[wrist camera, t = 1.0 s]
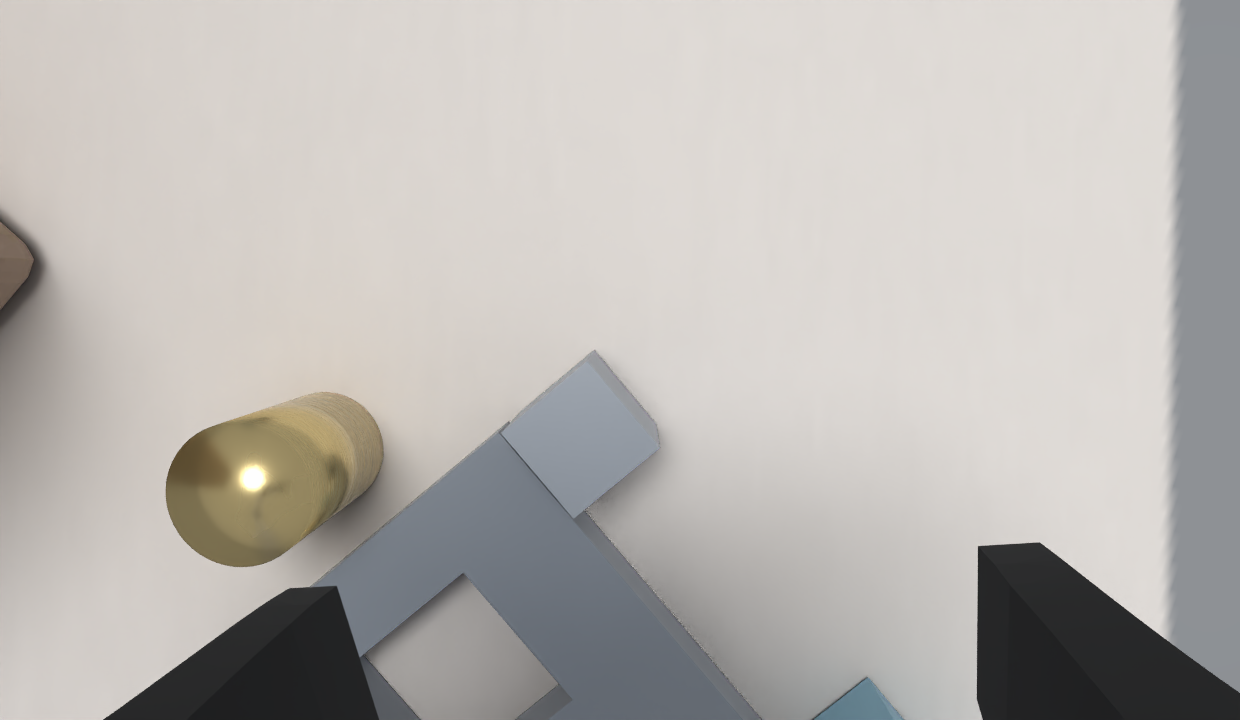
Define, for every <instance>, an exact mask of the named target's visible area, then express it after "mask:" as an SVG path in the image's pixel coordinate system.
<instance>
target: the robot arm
mask: <svg viewBox="0 0 1240 720" xmlns="http://www.w3.org/2000/svg"><path fill="white" fill-rule="evenodd" d="M977 701H978V704H979V708H980V711H981V715H982V718H983V720H1240V693H1239V692H1238V691H1236V690H1235V689H1233V688H1232V687H1230V686H1229V685H1228V684H1226V683H1225V682H1223V681H1222V680H1220V679H1219V678H1218V677H1216V676H1215V675H1213V674H1212V673H1211V672H1209V671H1208V670H1206V669H1205V668H1203V667H1202V666H1201V665H1200V664H1198V663H1197V662H1195V661H1194V660H1193V659H1191V658H1190V657H1189V656H1187V655H1186V654H1184V653H1183V652H1182V651H1180V650H1179V649H1178V648H1176V647H1175V646H1174V645H1172V644H1171V643H1170V642H1168V641H1167V640H1166V639H1164V638H1163V637H1162V636H1160V635H1159V634H1158V633H1156V632H1155V631H1154V630H1152V629H1151V628H1150V627H1148V626H1147V625H1146V624H1144V623H1143V622H1142V621H1140V620H1139V619H1138V618H1136V617H1135V616H1134V615H1133V614H1131V613H1130V612H1129V611H1127V610H1126V609H1125V608H1124V607H1122V606H1121V605H1120V604H1118V603H1117V602H1116V601H1114V600H1113V599H1112V598H1111V597H1109V596H1108V595H1107V594H1105V593H1104V592H1103V591H1102V590H1100V589H1099V588H1098V587H1096V586H1095V585H1094V584H1093V583H1091V582H1090V581H1089V580H1088V579H1086V578H1085V577H1084V576H1082V575H1081V574H1080V573H1079V572H1077V571H1076V570H1075V569H1074V568H1072V567H1071V566H1070V565H1068V564H1067V563H1066V562H1065V561H1063V560H1062V559H1061V558H1059V557H1058V556H1057V555H1056V554H1054V553H1053V552H1052V551H1050V550H1049V549H1048V548H1046V547H1045V546H1044V545H1042V544H1041V543H1023V544H1007V545H990V546H978V621H977ZM103 720H379V717H378V714H377V711H376V708H375V705H374V701H373V698H372V695H371V692H370V689H369V686H368V682H367V679H366V676H365V673H364V670H363V667H362V664H361V660H360V657H359V654H358V651H357V648H356V645H355V641H354V638H353V635H352V632H351V629H350V626H349V622H348V619H347V616H346V613H345V610H344V607H343V604H342V600H341V597H340V594H339V591H338V588H337V586H322V587H306V588H290V589H287V590H286V591H284V592H283V593H281V594H279V595H278V596H276V597H274V598H273V599H271V600H270V601H268V602H266V603H265V604H263V605H262V606H260V607H259V608H258V609H256V610H255V611H253V612H252V613H250V614H249V615H247V616H246V617H245V618H243V619H242V620H240V621H239V622H237V623H236V624H235V625H233V626H232V627H230V628H229V629H228V630H226V631H225V632H224V633H222V634H221V635H219V636H218V637H217V638H215V639H214V640H213V641H211V642H210V643H208V644H207V645H206V646H204V647H203V648H202V649H200V650H199V651H198V652H196V653H195V654H193V655H192V656H191V657H189V658H188V659H187V660H185V661H184V662H182V663H181V664H180V665H178V666H177V667H176V668H174V669H173V670H171V671H170V672H169V673H167V674H166V675H165V676H163V677H162V678H160V679H159V680H158V681H156V682H155V683H154V684H152V685H151V686H150V687H148V688H147V689H145V690H144V691H143V692H141V693H140V694H139V695H137V696H136V697H134V698H133V699H132V700H130V701H129V702H128V703H126V704H125V705H123V706H122V707H121V708H119V709H118V710H116V711H115V712H114V713H112V714H111V715H109V716H108V717H106V718H105V719H103Z"/></svg>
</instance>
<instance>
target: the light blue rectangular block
mask: <svg viewBox="0 0 1240 720" xmlns="http://www.w3.org/2000/svg"><path fill="white" fill-rule="evenodd" d="M814 720H904V719H903V718H902V717H901V716H900V715H899V713H898V712H897V711H896V710H895V709H894V707H893V706H892V705H891V704H890V703H889V701H888V700H887V699H886V698H885V697H884V695H883V694H882V693H881V692H880V691H879V689H878V688H877V687H876V686H875V685H874V684H873V682H872V681H871V680H870V679H869V678H867V679H865V680H864V681H863V682H861V683H860V684H859V685H857V686H856V687H855V688H854V689H852V690H851V691H850V692H848V693H847V694H846V695H845V696H843V697H842V698H841V699H839V700H838V701H837V702H836V703H834V704H833V705H832V706H830V707H829V708H828V709H827V710H825V711H824V712H823V713H821V714H820V715H819V716H818V717H816V718H815V719H814Z"/></svg>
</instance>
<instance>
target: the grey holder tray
mask: <svg viewBox="0 0 1240 720" xmlns="http://www.w3.org/2000/svg"><path fill="white" fill-rule="evenodd" d="M659 448H660V443H659V437H658V431H657V424H656V423H655V422H654V420H653V419H652V418H651V417H650V416H649V414H648V413H647V412H646V411H645V410H644V408H643V407H642V406H641V405H640V404H639V402H638V401H637V400H636V399H635V398H634V396H633V395H632V394H631V393H630V392H629V390H628V389H627V388H626V387H625V386H624V385H623V383H622V382H621V381H620V380H619V379H618V377H617V376H616V375H615V374H614V373H613V371H612V370H611V369H610V368H609V367H608V365H607V364H606V363H605V362H604V361H603V359H602V358H601V357H600V356H599V355H598V353H597V352H596V351H595V350H594V351H593V352H591V353H590V354H589V355H588V356H587V357H585V358H584V359H583V360H582V361H581V362H579V363H578V364H577V365H576V366H575V367H573V368H572V369H571V370H570V371H569V372H567V373H566V374H565V375H564V376H563V377H561V378H560V379H559V380H558V381H557V382H555V383H554V384H553V385H552V386H551V387H549V388H548V389H547V390H546V391H545V392H543V393H542V394H541V395H540V396H539V397H537V398H536V399H535V400H534V401H532V402H531V403H530V404H529V405H528V406H526V407H525V408H524V409H523V410H522V411H521V412H520V413H519V414H518V415H517V416H516V417H515V418H514V419H513V420H512V421H511V422H510V423H509V421H508V422H507V423H506V424H505V425H504V426H502V427H501V428H500V429H499V430H498V431H496V432H495V433H494V434H493V435H492V436H490V437H489V438H488V439H487V440H486V441H484V442H483V443H482V444H481V445H480V446H478V447H477V448H476V449H475V450H474V451H472V452H471V453H470V454H469V455H468V456H466V457H465V458H464V459H463V460H462V461H460V462H459V463H458V464H457V465H456V466H454V467H453V468H452V469H451V470H450V471H448V472H447V473H446V474H445V475H444V476H442V477H441V478H440V479H439V480H438V481H436V482H435V483H434V484H433V485H432V486H430V487H429V488H428V489H427V490H426V491H424V492H423V493H422V494H421V495H420V496H418V497H417V498H416V499H415V500H414V501H412V502H411V503H410V504H409V505H408V506H406V507H405V508H404V509H403V510H402V511H400V512H399V513H398V514H397V515H396V516H394V517H393V518H392V519H391V520H390V521H388V522H387V523H386V524H385V525H384V526H382V527H381V528H380V529H379V530H378V531H376V532H375V533H374V534H373V535H372V536H370V537H369V538H368V539H367V540H366V541H364V542H363V543H362V544H361V545H360V546H358V547H357V548H356V549H355V550H354V551H352V552H351V553H350V554H349V555H348V556H346V557H345V558H344V559H343V560H342V561H340V562H339V563H338V564H337V565H336V566H334V567H333V568H332V569H331V570H330V571H328V572H327V573H326V574H325V575H324V576H322V577H321V578H320V579H319V580H318V581H316V582H315V583H314V584H313V585H312V586H310V587H322V586H337V588H338V591H339V594H340V597H341V600H342V604H343V607H344V610H345V613H346V616H347V619H348V622H349V626H350V629H351V632H352V635H353V638H354V641H355V645H356V648H357V651H358V654H359V657H360V660H361V664H362V667H363V670H364V673H365V676H366V679H367V682H368V686H369V689H370V692H371V695H372V698H373V701H374V705H375V708H376V711H377V714H378V717H379V720H420V719H419V718H418V717H417V716H416V715H415V714H414V713H413V711H412V710H411V709H410V708H409V707H408V706H407V705H406V703H405V702H404V701H403V700H402V699H401V698H400V697H399V695H398V694H397V693H396V692H395V691H394V690H393V689H392V687H391V686H390V685H389V684H388V683H387V682H386V681H385V679H384V678H383V677H382V676H381V675H380V674H379V673H378V672H377V670H376V669H375V668H374V667H373V666H372V665H371V664H370V662H369V661H368V660H367V659H366V658H365V657H364V656H363V654H365V653H366V652H367V651H368V650H370V649H371V648H372V647H373V646H374V645H376V644H377V643H378V642H379V641H381V640H382V639H383V638H384V637H385V636H387V635H388V634H389V633H390V632H391V631H393V630H394V629H395V628H396V627H398V626H399V625H400V624H401V623H402V622H404V621H405V620H406V619H407V618H409V617H410V616H411V615H412V614H413V613H415V612H416V611H417V610H418V609H419V608H421V607H422V606H423V605H424V604H426V603H427V602H428V601H429V600H430V599H432V598H433V597H434V596H435V595H437V594H438V593H439V592H440V591H441V590H443V589H444V588H445V587H446V586H447V585H449V584H450V583H451V582H452V581H454V580H455V579H456V578H457V577H458V576H460V575H461V574H462V573H464V574H465V575H466V577H467V578H468V579H469V580H470V581H471V582H472V584H473V585H474V586H475V587H476V588H477V589H478V590H479V592H480V593H481V594H482V595H483V596H484V597H485V599H486V600H487V601H488V602H489V603H490V604H491V606H492V607H493V608H494V609H495V610H496V611H497V612H498V614H499V615H500V616H501V617H502V618H503V619H504V621H505V622H506V623H507V624H508V625H509V626H510V628H511V629H512V630H513V631H514V632H515V633H516V634H517V636H518V637H519V638H520V639H521V640H522V641H523V643H524V644H525V645H526V646H527V647H528V648H529V650H530V651H531V652H532V653H533V654H534V655H535V656H536V658H537V659H538V660H539V661H540V662H541V663H542V665H543V666H544V667H545V668H546V669H547V670H548V672H549V673H550V674H551V675H552V676H553V677H554V678H555V680H556V681H557V682H558V683H559V685H558V686H556V687H555V688H554V689H553V690H551V691H550V692H549V693H548V694H547V695H545V696H544V697H543V698H542V699H540V700H539V701H538V702H537V703H535V704H534V705H533V706H532V707H530V708H529V709H528V710H527V711H525V712H524V713H523V714H522V715H520V716H519V717H518V718H517V719H515V720H762V719H761V718H760V717H759V716H758V715H757V713H756V712H755V711H754V710H753V709H752V707H751V706H750V705H749V704H748V703H747V702H746V700H745V699H744V698H743V697H742V696H741V695H740V693H739V692H738V691H737V690H736V689H735V687H734V686H733V685H732V684H731V683H730V682H729V680H728V679H727V678H726V677H725V676H724V675H723V673H722V672H721V671H720V670H719V669H718V667H717V666H716V665H715V664H714V663H713V662H712V660H711V659H710V658H709V657H708V656H707V655H706V653H705V652H704V651H703V650H702V649H701V647H700V646H699V645H698V644H697V643H696V642H695V640H694V639H693V638H692V637H691V636H690V634H689V633H688V632H687V631H686V630H685V629H684V627H683V626H682V625H681V624H680V623H679V622H678V620H677V619H676V618H675V617H674V616H673V614H672V613H671V612H670V611H669V610H668V609H667V607H666V606H665V605H664V604H663V603H662V602H661V600H660V599H659V598H658V597H657V596H656V594H655V593H654V592H653V591H652V590H651V589H650V587H649V586H648V585H647V584H646V583H645V582H644V580H643V579H642V578H641V577H640V576H639V574H638V573H637V572H636V571H635V570H634V569H633V567H632V566H631V565H630V564H629V563H628V562H627V560H626V559H625V558H624V557H623V556H622V554H621V553H620V552H619V551H618V550H617V549H616V547H615V546H614V545H613V544H612V543H611V541H610V540H609V539H608V538H607V537H606V536H605V534H604V533H603V532H602V531H601V530H600V529H599V527H598V526H597V525H596V524H595V523H594V521H593V520H592V519H591V518H590V517H589V516H588V514H587V513H586V512H585V511H584V510H585V509H586V508H587V507H588V506H590V505H591V504H592V503H593V502H595V501H596V500H597V499H598V498H599V497H601V496H602V495H603V494H604V493H606V492H607V491H608V490H609V489H611V488H612V487H613V486H614V485H615V484H617V483H618V482H619V481H620V480H622V479H623V478H624V477H625V476H626V475H628V474H629V473H630V472H631V471H633V470H634V469H635V468H636V467H637V466H639V465H640V464H641V463H642V462H644V461H645V460H646V459H647V458H648V457H650V456H651V455H652V454H653V453H655V452H656V451H657V450H658V449H659Z"/></svg>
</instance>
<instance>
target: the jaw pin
mask: <svg viewBox="0 0 1240 720" xmlns="http://www.w3.org/2000/svg"><path fill="white" fill-rule="evenodd" d="M382 458H383V443H382V437H381V434H380V431H379V428H378V426H377V424H376V422H375V421H374V419H373V417H372V416H371V415H370V414H369V412H368V411H367V410H366V409H365V408H364V407H363V406H361V405H360V404H359V403H357V402H356V401H354V400H352V399H351V398H348V397H346V396H343V395H340V394H336V393H330V392H320V393H313V394H309V395H305V396H302V397H299V398H296V399H293V400H290V401H287V402H284V403H281V404H278V405H275V406H272V407H269V408H266V409H263V410H260V411H257V412H254V413H251V414H248V415H245V416H242V417H239V418H236V419H233V420H230V421H227V422H224V423H221V424H218V425H215V426H212V427H209V428H207V429H205V430H203V431H201V432H199V433H197V434H196V435H195V436H193V437H192V438H191V439H189V440H188V441H187V442H186V443H185V444H184V445H183V446H182V448H181V449H180V450H179V451H178V453H177V454H176V456H175V458H174V460H173V461H172V464H171V466H170V469H169V472H168V476H167V481H166V502H167V508H168V511H169V515H170V518H171V520H172V522H173V525H174V526H175V528H176V530H177V531H178V533H179V535H180V536H181V537H182V538H183V540H184V541H185V542H186V543H187V544H188V545H189V546H190V547H191V548H192V549H194V550H195V551H196V552H197V553H199V554H200V555H202V556H204V557H205V558H207V559H209V560H212V561H214V562H216V563H220V564H223V565H227V566H233V567H249V566H256V565H260V564H264V563H267V562H269V561H272V560H274V559H275V558H277V557H279V556H281V555H282V554H283V553H285V552H286V551H288V550H289V549H290V548H291V547H293V546H294V545H295V544H297V543H298V542H299V541H301V540H302V539H303V538H305V537H306V536H307V535H309V534H310V533H311V532H312V531H314V530H315V529H316V528H318V527H319V526H320V525H322V524H323V523H324V522H326V521H327V520H328V519H330V518H331V517H332V516H334V515H335V514H336V513H337V512H339V511H340V510H341V509H343V508H344V507H345V506H347V505H348V504H349V503H351V502H352V501H353V500H355V499H356V498H357V497H358V496H360V495H361V494H362V493H364V492H365V491H366V490H367V489H368V488H369V487H370V486H371V484H372V483H373V482H374V480H375V478H376V477H377V475H378V473H379V470H380V467H381V464H382Z"/></svg>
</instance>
